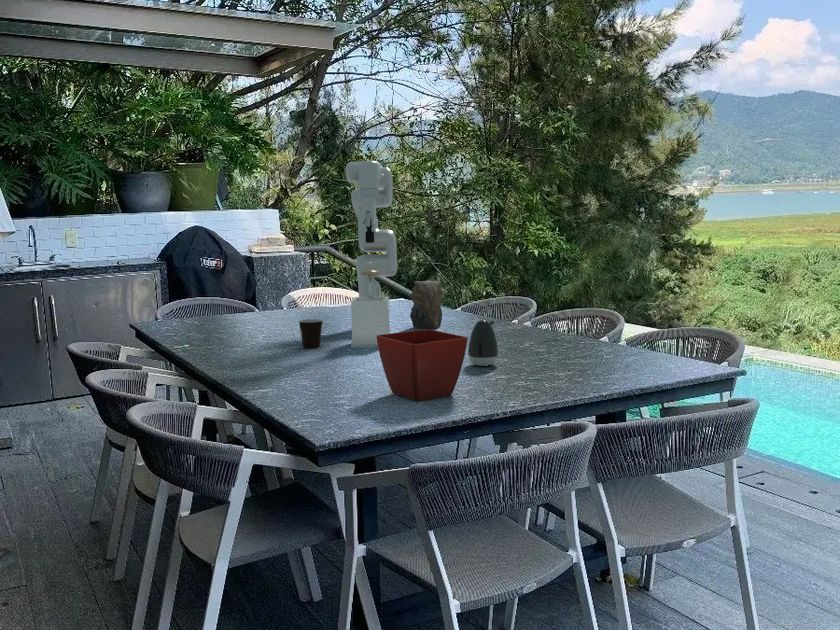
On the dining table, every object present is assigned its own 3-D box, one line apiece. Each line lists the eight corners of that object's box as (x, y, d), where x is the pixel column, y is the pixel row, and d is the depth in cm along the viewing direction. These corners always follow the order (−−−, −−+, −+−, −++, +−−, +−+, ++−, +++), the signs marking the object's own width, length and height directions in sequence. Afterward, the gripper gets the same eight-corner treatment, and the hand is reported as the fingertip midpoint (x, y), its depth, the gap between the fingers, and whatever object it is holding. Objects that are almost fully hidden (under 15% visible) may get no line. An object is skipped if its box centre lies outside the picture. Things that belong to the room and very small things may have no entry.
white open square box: (354, 341, 336) (353, 297, 333) (390, 341, 335) (389, 296, 333) (351, 347, 322) (349, 301, 319) (388, 347, 321) (387, 300, 319)
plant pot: (470, 395, 241) (469, 336, 239) (414, 406, 230) (413, 344, 228) (429, 384, 257) (429, 328, 255) (375, 393, 246) (374, 335, 244)
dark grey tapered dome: (505, 365, 285) (505, 319, 283) (485, 369, 277) (484, 323, 275) (482, 361, 292) (481, 316, 290) (461, 365, 284) (461, 320, 282)
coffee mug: (318, 349, 320) (318, 322, 318) (296, 348, 322) (295, 322, 320) (328, 344, 331) (327, 318, 330) (306, 343, 333) (306, 318, 331)
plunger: (359, 314, 332) (358, 269, 330) (384, 313, 332) (383, 269, 329) (356, 317, 322) (355, 272, 320) (382, 317, 322) (381, 271, 320)
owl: (409, 328, 368) (408, 281, 366) (421, 324, 380) (420, 279, 377) (436, 329, 363) (435, 282, 360) (447, 325, 375) (447, 279, 372)
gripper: (360, 194, 333) (362, 242, 335) (357, 193, 318) (358, 243, 320) (380, 194, 332) (381, 242, 334) (377, 193, 318) (378, 243, 320)
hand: (370, 242), depth 327 cm, fingers closed
